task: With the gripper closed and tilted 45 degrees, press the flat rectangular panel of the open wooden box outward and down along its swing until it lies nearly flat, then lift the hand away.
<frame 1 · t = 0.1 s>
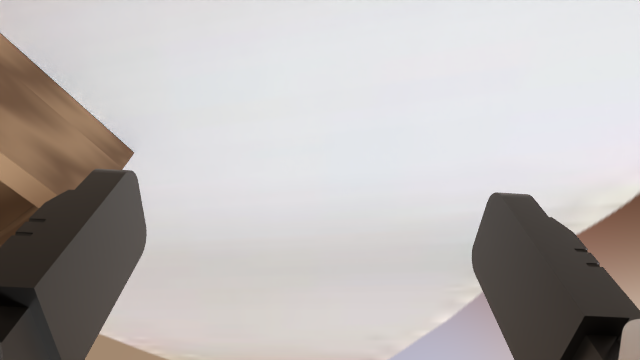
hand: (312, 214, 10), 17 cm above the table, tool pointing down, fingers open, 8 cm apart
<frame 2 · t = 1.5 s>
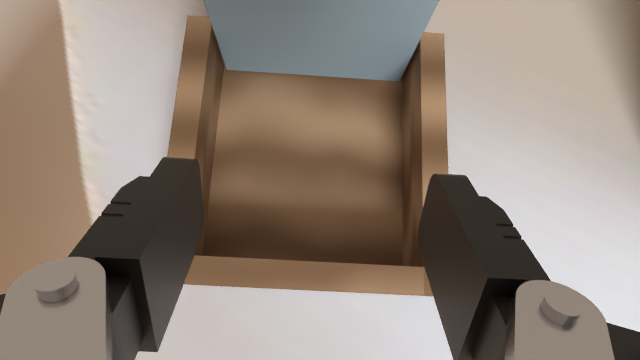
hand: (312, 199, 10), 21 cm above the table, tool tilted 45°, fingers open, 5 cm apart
open wooden box: (308, 175, 32), on the table
flat rectangular panel: (317, 22, 27), point 7 cm above the table, hinge at 0.0°
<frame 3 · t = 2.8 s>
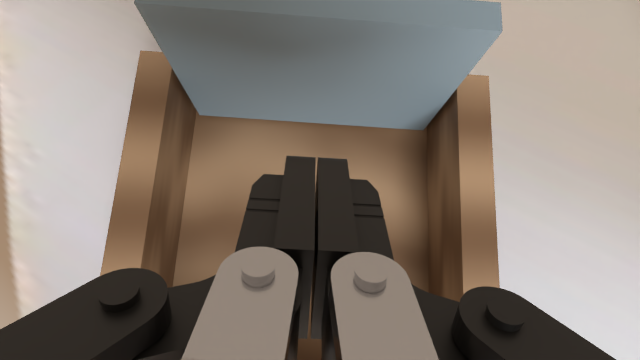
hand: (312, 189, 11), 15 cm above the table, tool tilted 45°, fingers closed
open wooden box: (304, 251, 25), on the table
flat rectangular panel: (317, 61, 20), point 7 cm above the table, hinge at 0.0°
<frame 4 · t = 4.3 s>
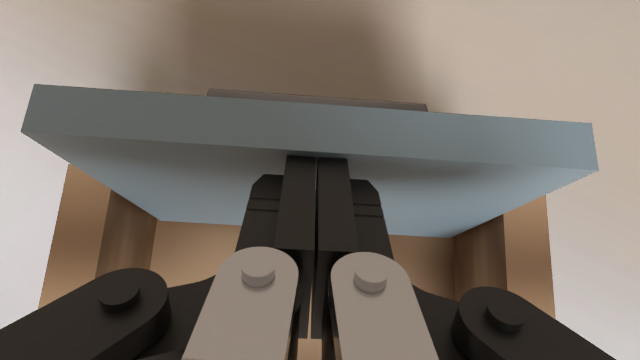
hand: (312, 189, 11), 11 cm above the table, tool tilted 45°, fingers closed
flat rectangular panel: (312, 171, 15), point 7 cm above the table, hinge at 2.9°, touching gripper
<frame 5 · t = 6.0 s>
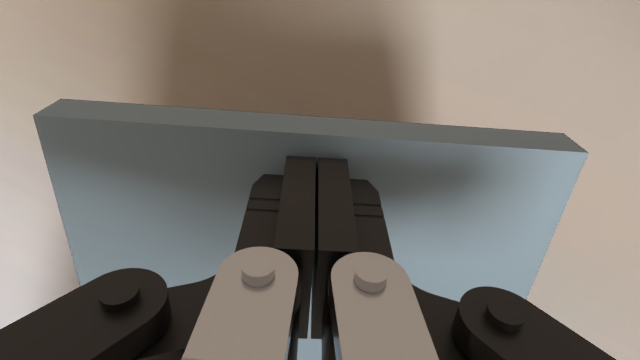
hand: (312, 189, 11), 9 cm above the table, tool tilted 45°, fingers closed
flat rectangular panel: (306, 264, 13), point 6 cm above the table, hinge at 46.5°, touching gripper
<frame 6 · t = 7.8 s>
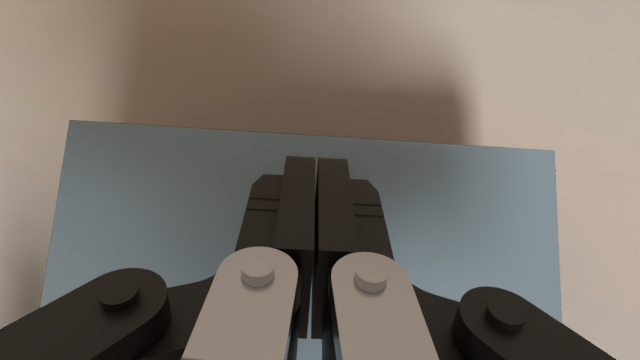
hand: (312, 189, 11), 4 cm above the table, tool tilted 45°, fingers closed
flat rectangular panel: (305, 320, 12), point 2 cm above the table, hinge at 85.3°, touching gripper
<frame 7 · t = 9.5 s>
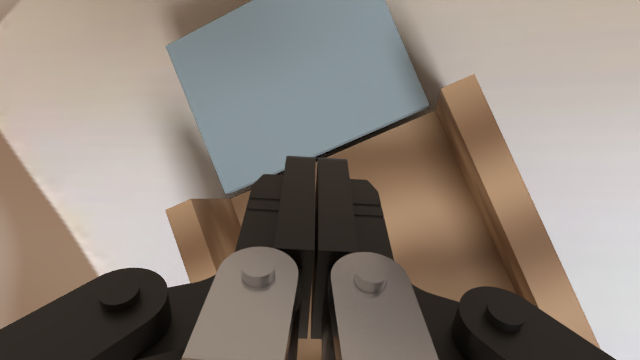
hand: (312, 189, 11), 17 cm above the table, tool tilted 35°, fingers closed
open wooden box: (383, 281, 27), on the table
flat rectangular panel: (294, 77, 26), point 2 cm above the table, hinge at 85.4°
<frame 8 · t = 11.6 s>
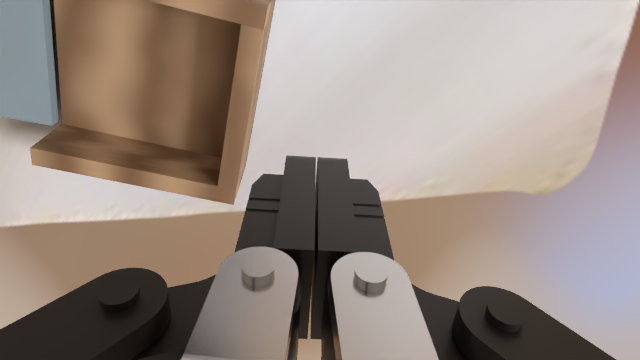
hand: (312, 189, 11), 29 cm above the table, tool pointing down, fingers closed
open wooden box: (166, 67, 38), on the table
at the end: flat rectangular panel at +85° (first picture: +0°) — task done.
